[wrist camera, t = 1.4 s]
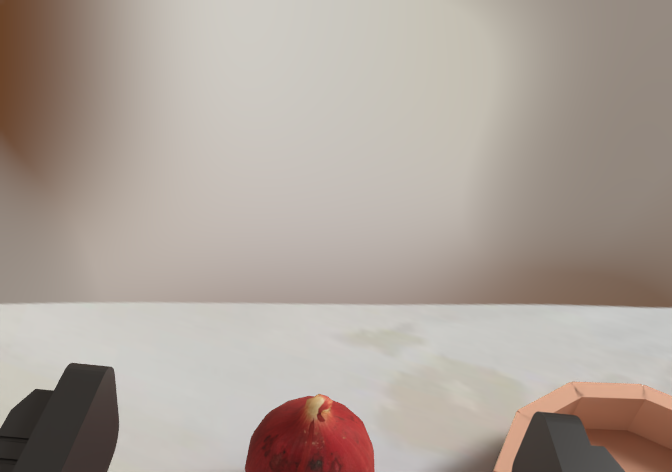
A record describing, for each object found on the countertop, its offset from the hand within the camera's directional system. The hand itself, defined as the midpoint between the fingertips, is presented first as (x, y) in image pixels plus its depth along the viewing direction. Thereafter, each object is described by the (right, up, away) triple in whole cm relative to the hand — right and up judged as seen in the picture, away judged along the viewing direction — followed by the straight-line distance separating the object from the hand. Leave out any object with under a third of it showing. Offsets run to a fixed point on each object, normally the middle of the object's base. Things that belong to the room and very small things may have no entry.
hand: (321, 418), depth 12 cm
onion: (-1, -10, +19) cm, 21 cm away
